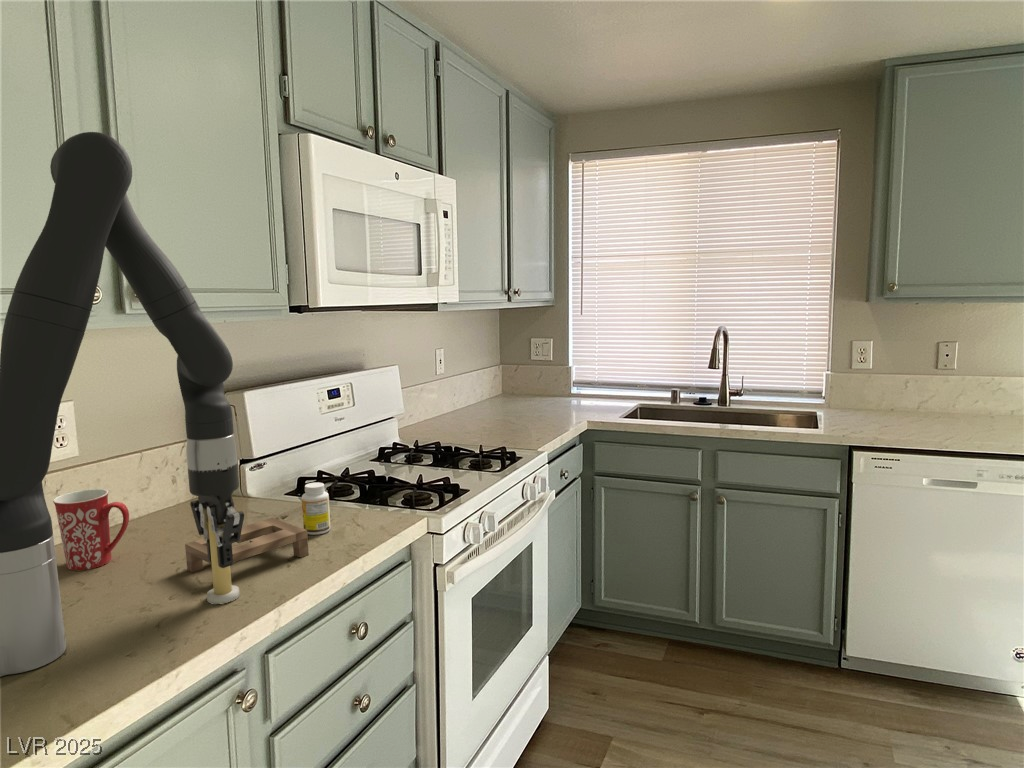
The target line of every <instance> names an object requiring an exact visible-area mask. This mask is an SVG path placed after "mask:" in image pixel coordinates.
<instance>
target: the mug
mask: <svg viewBox="0 0 1024 768" xmlns="http://www.w3.org/2000/svg"><path fill="white" fill-rule="evenodd" d="M108 496H109V490H107V489H104V488H94V489H93V488H91V489H82V490H76V491H72V492H69V493H68V492H66V493H63V494H61V495H59V496H57V497H54V499H53V500H52V503H53V504H54V506H55V513H56V516H57V521H58V527H59V531H60V532H59V533H60V538H61V542H62V547H63V553H64V557H65V564H66V568H67V570H69V569H71V570H70V571H73V570H81V571H86V570H85V569H88V570H93V569H96V567H97V568H99V566H100V567H103V566H105V565H106V564H108V563H109V562H111V560H112V551H113V550H114V549H115V548H116V546H117V544H118V543H119V542H120V540H121V539H122V538H123V536H124V534H125V533H126V530H127V528H128V525H129V522H130V513H129V512H130V511H129V509H128V507H127V505H125V504H124V503H123V502H120V501H114V502H110V503H109V500H108V498H109V497H108ZM113 508H117V509H118V510H119V511H120V512H121V514H122V524H121V527H120V530H119V532H118V533H117V535H116V536H115V538H114V539H113V541H111V532H110V530H111V529H110V516H109V515H110V511H111V510H112V509H113ZM104 564H105V565H104ZM92 568H93V569H92Z"/></svg>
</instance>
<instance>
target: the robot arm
mask: <svg viewBox="0 0 1024 768" xmlns="http://www.w3.org/2000/svg"><path fill="white" fill-rule="evenodd" d="M130 159H131V158H130V155H129V154H128V153H127V151H126V149H125V148H124V146H123V145H122V144H121V143H120V142H119V141H118V140H117V139H115V138H114V137H112V136H111V135H108V134H105V133H103V132H98V131H85V132H80V133H78V134H75V135H72V136H69V138H67V139H66V140H65V141H63V142H62V143H61V144H60V146H59V147H58V148H57V149H56V150H55V152H54V154H52V158H51V160H50V168H49V169H50V174H51V178H52V180H53V182H54V188H53V189H54V190H53V194H52V198H51V202H50V208H49V212H48V215H47V217H46V221H45V224H44V226H43V229H42V230H41V233H40V234H39V236H38V237H37V240H36V241H35V243H34V245H33V247H32V249H31V250H30V252H29V254H28V256H27V258H26V260H25V262H24V265H23V267H22V269H21V271H20V273H19V276H18V278H17V280H16V284H15V286H14V289H13V292H12V295H11V299H10V302H9V305H8V309H7V311H6V315H5V318H4V324H3V328H2V334H1V342H0V343H1V344H0V677H4V676H7V675H8V676H9V675H15V674H20V673H26V672H29V671H32V670H36V669H38V668H42V667H43V666H46V665H47V664H50V663H52V662H53V661H55V660H57V659H58V658H60V657H61V656H62V655H63V654H64V653H65V651H66V650H67V644H66V633H65V626H64V618H63V608H62V599H61V592H60V591H61V590H60V582H59V575H58V574H59V573H58V566H57V564H58V563H57V559H56V558H57V556H56V549H55V548H56V547H55V541H54V540H55V538H54V530H53V529H54V528H53V521H52V517H51V513H50V511H49V509H48V506H47V503H46V502H47V501H46V498H45V493H44V487H43V485H44V484H43V481H44V479H45V477H46V475H47V474H48V470H49V467H50V463H51V458H52V451H53V445H54V444H53V443H54V438H55V431H56V427H57V422H58V414H59V410H60V407H61V406H60V405H61V402H62V400H63V399H62V398H63V395H64V393H65V390H66V387H67V385H68V382H69V380H70V377H71V374H72V372H73V369H74V366H75V363H76V360H77V357H78V355H79V350H80V349H81V348H80V347H81V345H82V342H83V339H84V337H85V332H86V329H87V326H88V323H89V320H90V315H91V311H92V309H93V305H94V300H95V296H96V292H97V288H98V284H99V279H100V276H101V270H102V265H103V259H104V254H105V249H107V251H108V252H109V254H110V256H111V257H112V258H113V260H114V261H115V263H116V264H117V267H118V268H119V269H120V271H121V273H122V274H123V276H124V277H125V280H126V282H128V285H129V286H130V288H131V290H132V291H133V293H134V294H135V296H136V297H137V299H138V301H139V302H140V304H141V306H142V308H143V309H144V312H146V314H147V316H148V317H149V319H150V320H151V322H152V325H154V327H155V328H156V329H157V331H158V332H159V333H161V335H162V336H164V337H165V338H166V339H167V340H168V342H169V343H170V345H171V346H172V348H173V350H174V352H175V354H176V355H177V357H176V373H177V374H176V375H177V379H178V385H179V389H180V393H181V397H182V401H183V404H184V417H185V419H184V421H185V432H186V451H185V452H186V463H187V475H188V476H187V477H188V478H187V479H188V486H189V487H188V488H189V492H190V494H191V495H193V496H195V497H198V498H197V499H195V500H192V501H190V504H189V505H190V508H191V511H192V516H193V519H194V521H195V525H196V529H197V532H198V534H199V536H203V538H204V540H205V541H207V552H208V561H209V562H210V563H211V551H210V539H209V527H208V516H209V517H210V524H211V530H212V532H213V533H215V536H216V542H217V555H218V566H219V567H221V568H225V567H228V566H230V567H231V566H232V565H233V564H234V562H233V554H232V548H233V544H235V543H237V542H239V540H240V535H241V530H242V527H243V526H244V525H243V524H244V521H245V520H244V519H245V514H244V511H242V510H241V511H237V510H236V509H235V503H234V500H233V495H232V494H233V493H234V491H237V490H238V489H239V487H240V478H239V477H240V476H239V464H238V463H239V462H238V453H237V451H238V450H237V445H236V441H235V440H236V438H235V436H234V435H235V434H234V433H235V432H234V422H233V421H234V420H233V418H234V417H233V411H232V406H231V404H230V402H229V400H228V399H227V397H226V395H225V394H226V393H225V388H224V387H225V386H224V382H226V381H227V380H228V378H229V377H230V376H231V374H232V372H233V368H234V367H233V366H234V365H233V357H232V354H231V352H230V350H229V348H228V347H227V344H226V343H225V342H224V340H223V338H221V336H220V335H219V333H218V332H217V330H216V329H215V328H214V327H213V326H212V324H211V323H210V321H209V319H207V318H206V316H205V315H204V314H203V312H202V310H201V309H200V307H199V305H198V302H197V301H196V299H195V297H194V296H193V294H192V292H191V291H190V288H189V286H188V285H187V283H186V282H185V280H184V279H183V277H182V276H181V273H180V272H179V271H178V269H177V268H176V267H175V265H174V263H173V262H172V261H171V260H170V259H169V258H168V256H167V255H166V254H165V253H164V252H163V250H162V249H161V248H160V247H159V246H158V245H157V243H156V242H155V241H154V240H153V239H152V237H151V236H150V234H148V231H147V230H146V229H145V227H144V226H143V224H142V223H141V221H140V220H139V218H138V216H137V214H136V212H135V210H134V209H133V206H132V205H131V201H130V200H129V197H128V194H127V192H128V191H129V188H130V185H131V183H132V178H133V166H132V161H131V160H130ZM221 524H225V525H224V526H221V527H218V525H221ZM222 532H223V537H222ZM233 533H234V535H233ZM210 563H209V564H210Z"/></svg>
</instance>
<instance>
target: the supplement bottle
mask: <svg viewBox="0 0 1024 768" xmlns="http://www.w3.org/2000/svg"><path fill="white" fill-rule="evenodd" d="M325 490H326V488H325V484H324V483H323V482H319V481H318V482H310V483H306V484H305V485H304V492H305V493H303V494H302V495H301V506H302V508H301V511H302V521H303V529H305V530H307V535H310V536H317V535H322V534H326V533H328V532H329V531H330V530H331V514H330V513H331V511H330V496H329V493H328V492H327V491H325Z"/></svg>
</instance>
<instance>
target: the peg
mask: <svg viewBox="0 0 1024 768" xmlns="http://www.w3.org/2000/svg"><path fill="white" fill-rule="evenodd" d="M224 525H225V524H221V525H218V527H221V526H224ZM208 527H209V539H210V551H211V563H212V564H211V573H212V585H213V587H212V588H211V589H210V590H208V591H207V593H206V599H207V600H206V602H207V601H208V602H210V603H213V604H220V603H226V602H230V601H233V600H235V599H237V598H238V597H239V598H240V596H239V595H240V587H239V586H237V585H234V584H232V575H231V574H232V573H231V566H228V567H225V568H221V567H219V566H218V555H217V542H216V536H215V533H213V532H212V530H211V524H210V517H209V516H208ZM222 537H223V532H222ZM239 598H238V599H239ZM238 599H237V600H238ZM235 601H236V600H235ZM208 602H207V603H208ZM233 602H234V601H233Z"/></svg>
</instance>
